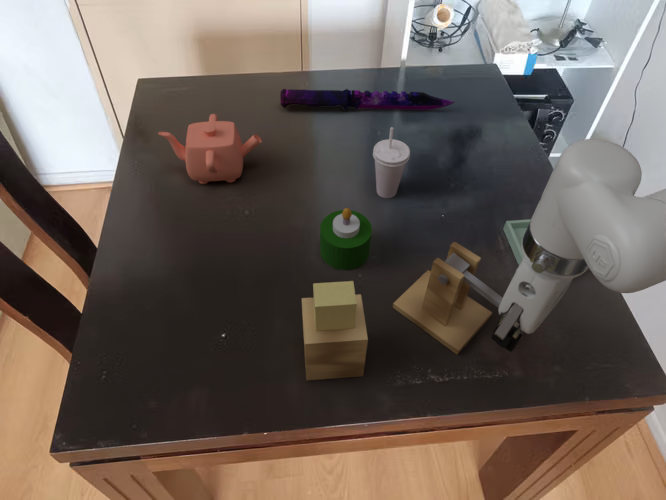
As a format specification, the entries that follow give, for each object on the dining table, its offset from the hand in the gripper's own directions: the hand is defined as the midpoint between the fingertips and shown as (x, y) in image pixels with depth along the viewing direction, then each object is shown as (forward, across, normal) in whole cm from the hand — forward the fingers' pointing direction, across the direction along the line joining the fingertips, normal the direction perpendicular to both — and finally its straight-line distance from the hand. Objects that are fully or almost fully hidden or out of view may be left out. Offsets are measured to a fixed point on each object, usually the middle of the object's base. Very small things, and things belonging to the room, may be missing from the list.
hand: (513, 329), depth 73 cm
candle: (+7, -1, +30) cm, 30 cm away
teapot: (+7, -3, +60) cm, 61 cm away
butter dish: (+7, +22, +6) cm, 23 cm away
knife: (+7, +32, +52) cm, 62 cm away
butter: (-3, -17, +18) cm, 25 cm away
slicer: (+7, 0, +10) cm, 13 cm away
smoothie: (+7, +15, +34) cm, 37 cm away
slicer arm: (-2, 0, +6) cm, 6 cm away
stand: (+7, -17, +18) cm, 25 cm away
